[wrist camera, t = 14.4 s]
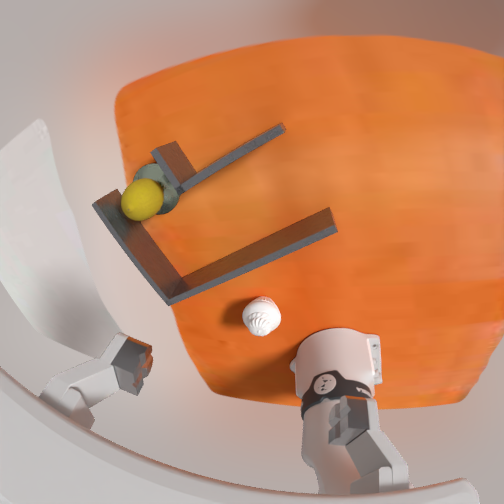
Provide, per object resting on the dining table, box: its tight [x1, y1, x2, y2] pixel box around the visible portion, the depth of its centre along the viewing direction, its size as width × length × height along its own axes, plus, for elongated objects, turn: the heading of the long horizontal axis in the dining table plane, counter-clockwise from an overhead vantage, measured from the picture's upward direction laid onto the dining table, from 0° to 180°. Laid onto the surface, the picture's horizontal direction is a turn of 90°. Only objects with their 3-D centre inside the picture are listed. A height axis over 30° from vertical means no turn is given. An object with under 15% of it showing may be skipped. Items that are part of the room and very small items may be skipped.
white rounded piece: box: [242, 296, 281, 336], centre depth 44 cm, size 6×6×7 cm
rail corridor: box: [92, 123, 338, 306], centre depth 36 cm, size 20×28×6 cm
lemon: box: [121, 178, 164, 221], centre depth 36 cm, size 6×6×8 cm
